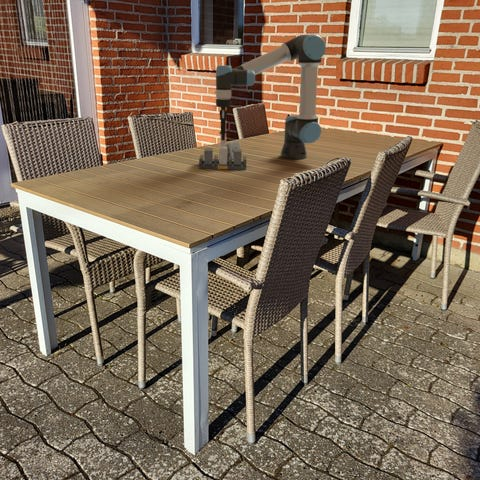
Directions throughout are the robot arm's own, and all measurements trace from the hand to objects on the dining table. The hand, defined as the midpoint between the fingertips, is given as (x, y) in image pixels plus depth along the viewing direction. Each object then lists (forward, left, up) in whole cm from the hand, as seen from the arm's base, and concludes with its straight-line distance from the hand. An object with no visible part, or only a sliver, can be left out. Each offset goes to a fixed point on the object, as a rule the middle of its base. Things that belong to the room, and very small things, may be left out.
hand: (223, 146), depth 245 cm
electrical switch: (-5, -21, -11) cm, 24 cm away
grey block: (0, 0, -10) cm, 10 cm away
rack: (0, 0, -11) cm, 11 cm away
